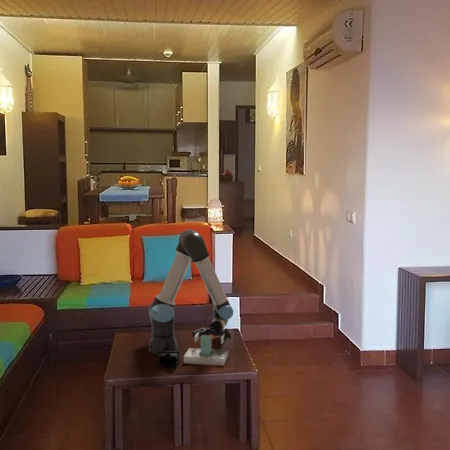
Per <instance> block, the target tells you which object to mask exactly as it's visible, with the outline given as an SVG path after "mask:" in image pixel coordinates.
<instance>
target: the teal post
mask: <svg viewBox="0 0 450 450" xmlns="http://www.w3.org/2000/svg"><path fill="white" fill-rule="evenodd" d="M200 349H201V355H205V356H211V349H212V335H202V336H200Z"/></svg>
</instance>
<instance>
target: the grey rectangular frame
mask: <svg viewBox="0 0 450 450" xmlns="http://www.w3.org/2000/svg"><path fill="white" fill-rule="evenodd" d="M228 357H229V349H221V348H220V349H217V348H216V349H215V348H211V356H205V355H201V347H200V348H199V347H198V348H197V347H195V348H194V347H188V349H187V351H186V352H185V353H184V355H183V364H191V365H206V366H207V365H208V366H210V365H211V366H225V364H226V362H227V360H228Z"/></svg>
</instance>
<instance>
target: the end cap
mask: <svg viewBox="0 0 450 450" xmlns="http://www.w3.org/2000/svg"><path fill="white" fill-rule="evenodd" d="M157 356H158V357H157V359H158V362H157V364H158V368H159V367H166V368H165V369H177V368H178V366H179V364H180V351H179V350H178V351H159V352H158V355H157Z"/></svg>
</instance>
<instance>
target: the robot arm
mask: <svg viewBox="0 0 450 450" xmlns="http://www.w3.org/2000/svg"><path fill="white" fill-rule="evenodd" d="M175 252H176V256H175V257H174V260H173V262H172V265H171V267H170V269H169V271H168V274H167V276H166V278H165V279H164V280H165V281H164V282H163V285H162V287H161V290H160V292H159V294H156V295H155V296H154V299H153V301H152V302H151V303H150V304H149V306H148V310H147V311H148V316H149V319H150V323H151V339H150V342H149V345H148V352H149V354H151V355H153V356H158V352H159V351H179V345H178V342H177V339H176V337H175V311H174V309H175V306H176V302H175V299H176V296H177V294H178V292H179V289H180V287H181V285H182V282H183V280H184V279H185V276H186V274H187V272H188V269H189V266H190V264H191V263H193V264H195V267H196V268H197V270H198V272H199V274H200V277H201V279H202V281H203V282H204V285H205V287H206V289H207V292H208V294H209V296H210V298H211V300H212V305H213V307H212V309H213V310H212V311H213V312H212V313H213V317H212V319H213V320H212V321H211V322H210V324H209V325H208V327H207V328H205V327H204V326H202V327H201V328H199V329H196V330H194V331H192V337H193V339H194V343H197V341H198V340H199V339H200V338H201V336H202V335H211V336H214V337H216V336H217V337H220V344H223V343H224V342H225V341H227V339H229V340H231V339H232V334H231V332H230V331H229V329H228V328H227V327H226V326H227V325H228V323H229V320H230V319H231V318H232V317H233V316H234V309H233V307H232V305H231V303H230V301H229V300H228V296H227V294H226V293H225V290H224V288H223V286H222V284H221V282H220V279H219V278H218V275H217V273H216V271H215V269H214V266H213V264H212V262H211V260H210V256H211V255H210V252H209V250H208V247H207V245H206V242H205V239H204V237H203V236H202V235H201V234H200V233H199V231H196V230H193V229H186V230H184V231H183V232H181V234H180V235H179V237H178V243H177V245H176V247H175Z"/></svg>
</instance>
